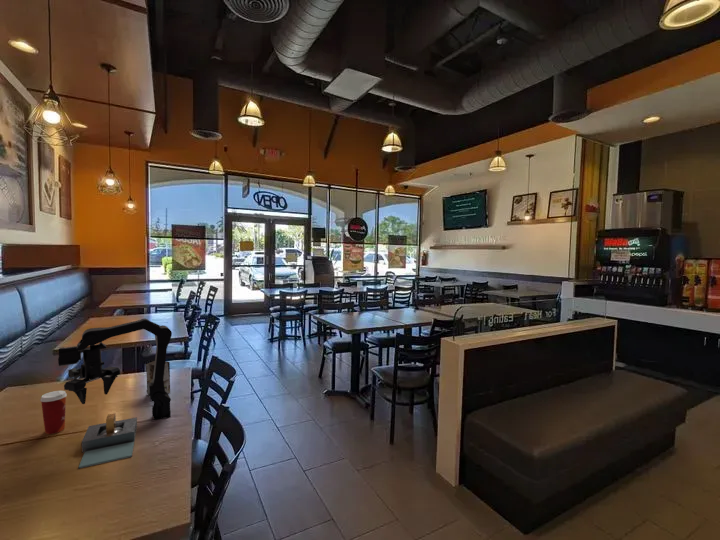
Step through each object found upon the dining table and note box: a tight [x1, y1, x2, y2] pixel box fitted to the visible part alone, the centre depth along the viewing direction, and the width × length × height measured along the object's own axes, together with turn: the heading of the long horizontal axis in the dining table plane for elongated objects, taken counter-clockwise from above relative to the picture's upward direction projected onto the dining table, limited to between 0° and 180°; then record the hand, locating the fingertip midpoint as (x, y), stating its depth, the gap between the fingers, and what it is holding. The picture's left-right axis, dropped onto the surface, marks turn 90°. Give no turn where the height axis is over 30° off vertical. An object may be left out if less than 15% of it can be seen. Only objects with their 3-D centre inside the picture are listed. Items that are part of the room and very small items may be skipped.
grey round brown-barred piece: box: [100, 412, 122, 435], centre depth 138 cm, size 7×7×9 cm
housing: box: [81, 417, 138, 454], centre depth 138 cm, size 16×13×4 cm
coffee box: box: [145, 360, 171, 394], centre depth 181 cm, size 9×6×16 cm
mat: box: [78, 441, 135, 469], centre depth 127 cm, size 15×10×1 cm, turn 118°
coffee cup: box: [39, 390, 68, 435], centre depth 144 cm, size 8×8×15 cm
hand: (95, 399), depth 143 cm, fingers open, 9 cm apart
